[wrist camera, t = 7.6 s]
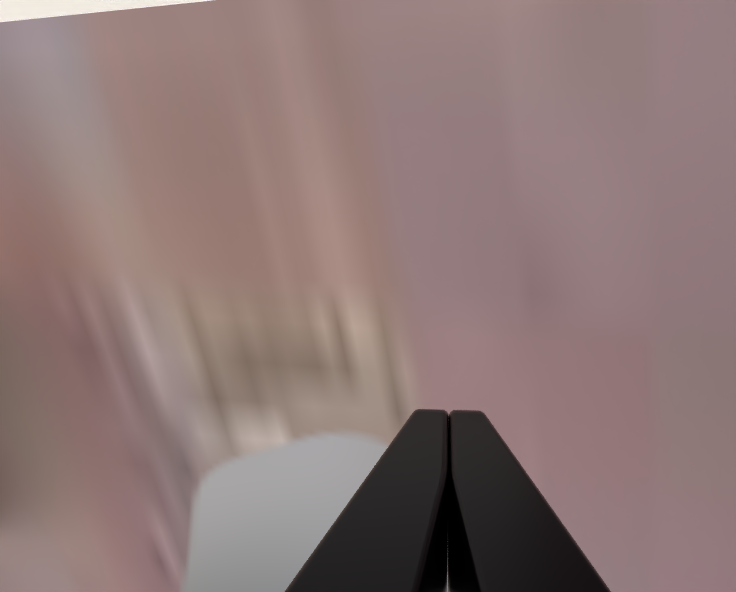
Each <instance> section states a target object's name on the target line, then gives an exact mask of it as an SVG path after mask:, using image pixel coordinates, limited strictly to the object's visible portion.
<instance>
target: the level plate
mask: <svg viewBox="0 0 736 592" xmlns="http://www.w3.org/2000/svg"><path fill="white" fill-rule="evenodd" d="M201 1H211V0H0V22H6V21H16V20H25V19H35V18H45V17H55V16H64V15H74V14H84V13H94V12H104V11H113V10H123V9H133V8H143V7H152V6H162V5H172V4H182V3H192V2H201Z"/></svg>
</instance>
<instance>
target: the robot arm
mask: <svg viewBox="0 0 736 592" xmlns="http://www.w3.org/2000/svg"><path fill="white" fill-rule="evenodd" d="M447 558H448V592H611V591H610V590H609V588H608V587H607V585H606V584H605V583H604V581H603V580H602V578H601V577H600V576H599V574H598V573H597V571H596V570H595V569H594V567H593V566H592V564H591V563H590V562H589V560H588V559H587V557H586V556H585V555H584V553H583V552H582V550H581V549H580V547H579V546H578V545H577V543H576V542H575V540H574V539H573V538H572V536H571V535H570V533H569V532H568V531H567V529H566V528H565V526H564V525H563V524H562V522H561V521H560V519H559V518H558V516H557V515H556V514H555V512H554V511H553V509H552V508H551V507H550V505H549V504H548V502H547V501H546V500H545V498H544V497H543V495H542V494H541V493H540V491H539V490H538V488H537V487H536V486H535V484H534V483H533V481H532V480H531V478H530V477H529V476H528V474H527V473H526V471H525V470H524V469H523V467H522V466H521V464H520V463H519V462H518V460H517V459H516V457H515V456H514V455H513V453H512V452H511V450H510V449H509V448H508V446H507V445H506V443H505V442H504V440H503V439H502V438H501V436H500V435H499V433H498V432H497V431H496V429H495V428H494V426H493V425H492V424H491V422H490V421H489V419H488V418H487V417H486V415H485V414H484V413H483V412H481V411H474V410H453V411H451V412H450V414H449V416H448V413H447V411H445V410H436V409H417V410H415V411H414V412H413V413H412V415H411V416H410V417H409V419H408V420H407V422H406V423H405V424H404V426H403V427H402V429H401V430H400V431H399V433H398V434H397V436H396V437H395V438H394V440H393V441H392V443H391V444H390V445H389V447H388V448H387V450H386V451H385V452H384V454H383V455H382V457H381V458H380V459H379V461H378V462H377V463H376V465H375V466H374V468H373V469H372V471H371V472H370V473H369V475H368V476H367V477H366V479H365V481H364V482H363V483H362V484H361V486H360V487H359V489H358V490H357V491H356V493H355V494H354V496H353V497H352V498H351V500H350V501H349V503H348V504H347V506H346V507H345V508H344V510H343V511H342V512H341V514H340V515H339V517H338V518H337V520H336V521H335V522H334V524H333V525H332V526H331V528H330V529H329V531H328V532H327V533H326V535H325V536H324V538H323V539H322V540H321V542H320V543H319V545H318V546H317V547H316V549H315V550H314V552H313V553H312V554H311V556H310V557H309V558H308V560H307V561H306V563H305V564H304V565H303V567H302V568H301V570H300V571H299V572H298V574H297V575H296V577H295V578H294V579H293V581H292V582H291V584H290V585H289V586H288V588H287V589H286V591H285V592H447Z"/></svg>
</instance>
